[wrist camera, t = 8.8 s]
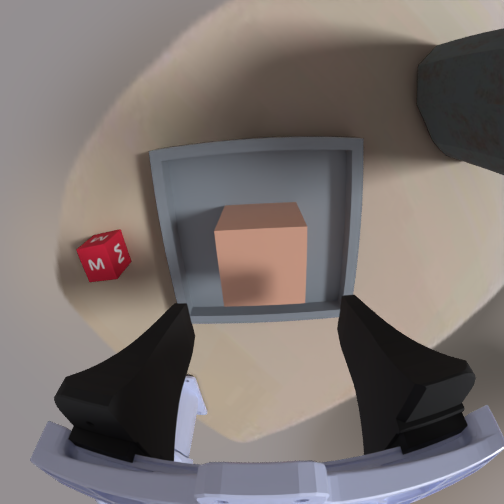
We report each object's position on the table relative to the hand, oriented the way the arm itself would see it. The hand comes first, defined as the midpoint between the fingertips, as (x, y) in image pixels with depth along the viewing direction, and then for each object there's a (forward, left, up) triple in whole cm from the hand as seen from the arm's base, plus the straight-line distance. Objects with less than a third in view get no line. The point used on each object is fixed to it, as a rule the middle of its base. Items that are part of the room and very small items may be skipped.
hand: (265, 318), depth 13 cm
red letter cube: (-13, 0, -10) cm, 16 cm away
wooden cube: (0, 0, -9) cm, 9 cm away
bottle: (+17, +12, -10) cm, 23 cm away
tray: (0, +1, -9) cm, 9 cm away
